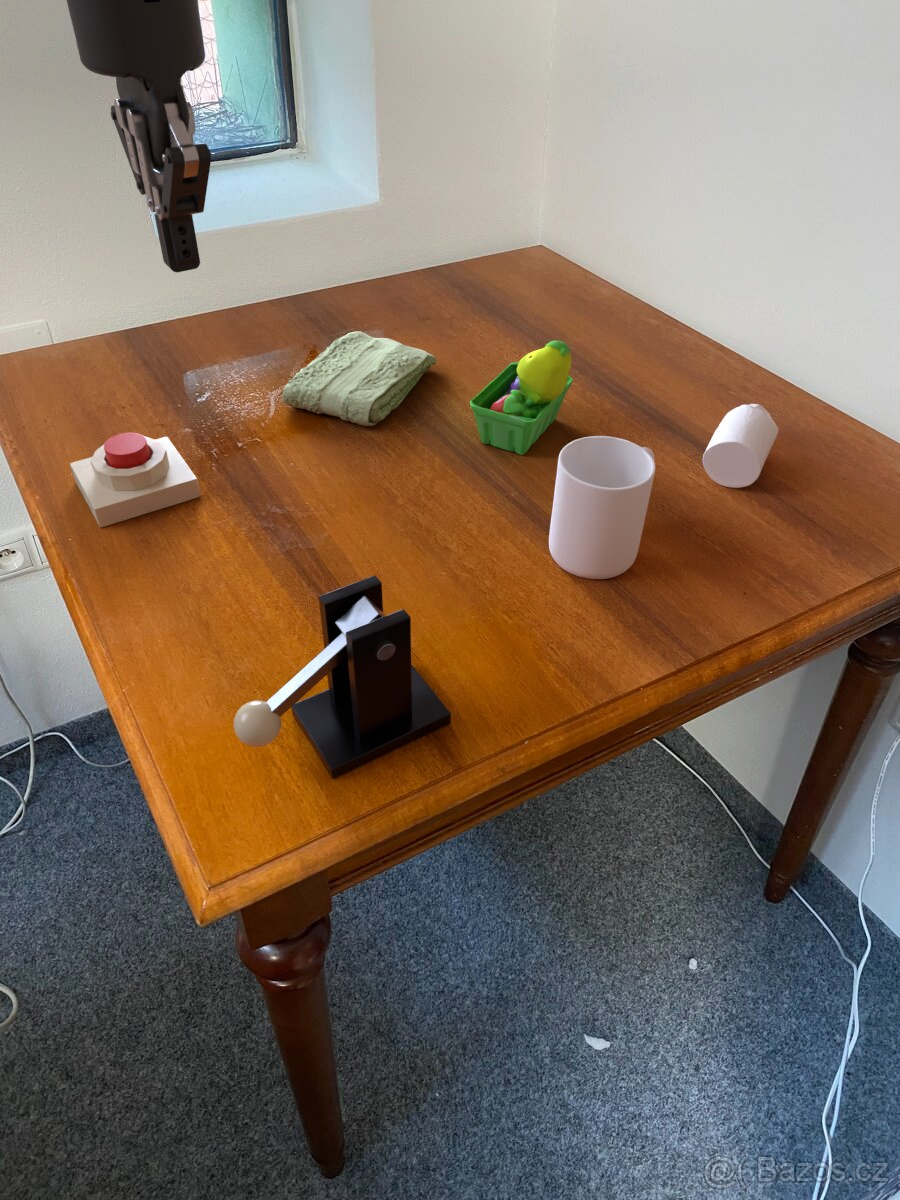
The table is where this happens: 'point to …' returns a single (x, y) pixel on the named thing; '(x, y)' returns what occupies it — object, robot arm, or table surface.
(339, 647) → the lever
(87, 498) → the button box
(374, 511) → the table surface
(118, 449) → the button
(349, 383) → the washcloth
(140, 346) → the table surface
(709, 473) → the white bottle
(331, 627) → the bracket
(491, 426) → the fruit basket
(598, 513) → the cup
